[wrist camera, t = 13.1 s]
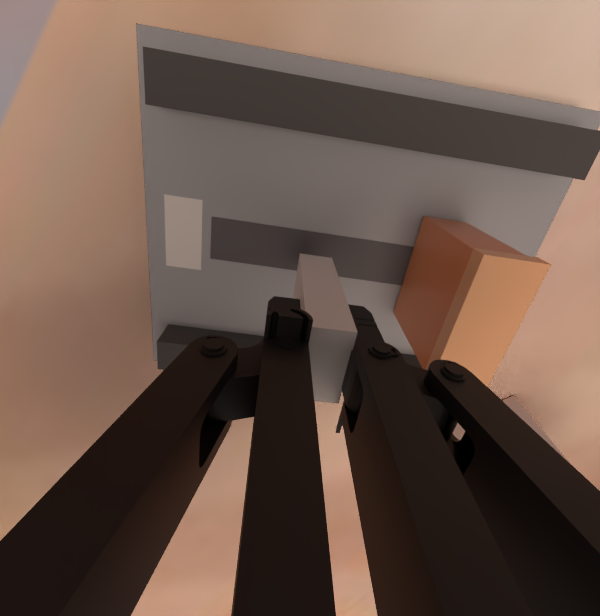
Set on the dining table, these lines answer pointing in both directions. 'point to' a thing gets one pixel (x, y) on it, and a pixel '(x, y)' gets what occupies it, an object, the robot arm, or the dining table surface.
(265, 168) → the panel
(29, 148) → the dining table surface
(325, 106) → the set of dark strips
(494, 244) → the orange rectangular block
